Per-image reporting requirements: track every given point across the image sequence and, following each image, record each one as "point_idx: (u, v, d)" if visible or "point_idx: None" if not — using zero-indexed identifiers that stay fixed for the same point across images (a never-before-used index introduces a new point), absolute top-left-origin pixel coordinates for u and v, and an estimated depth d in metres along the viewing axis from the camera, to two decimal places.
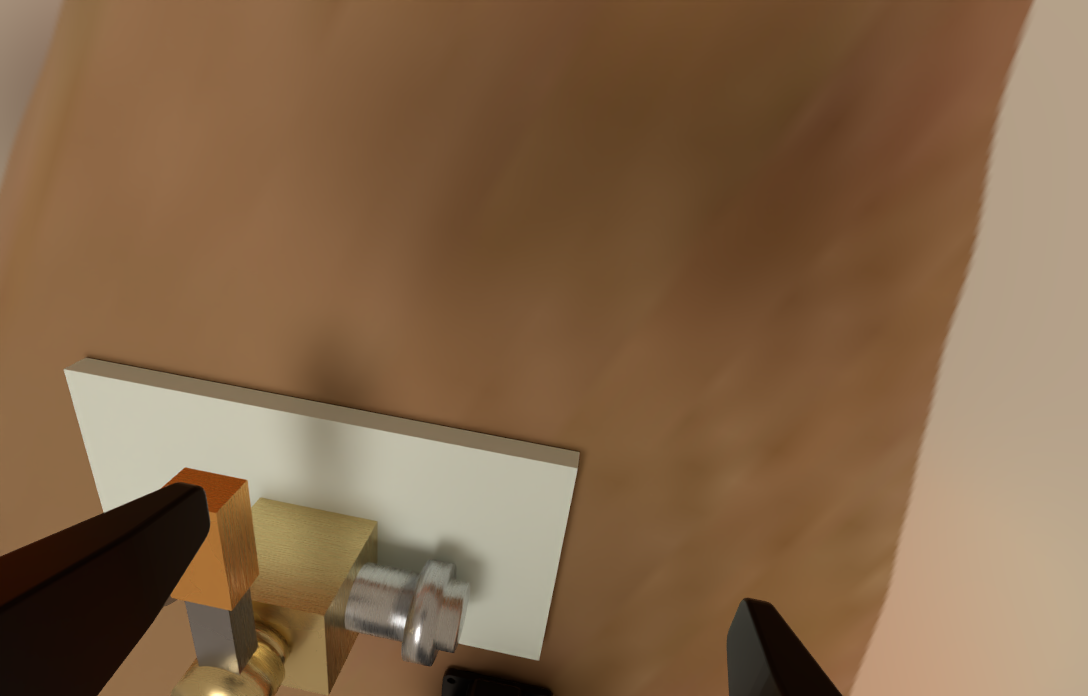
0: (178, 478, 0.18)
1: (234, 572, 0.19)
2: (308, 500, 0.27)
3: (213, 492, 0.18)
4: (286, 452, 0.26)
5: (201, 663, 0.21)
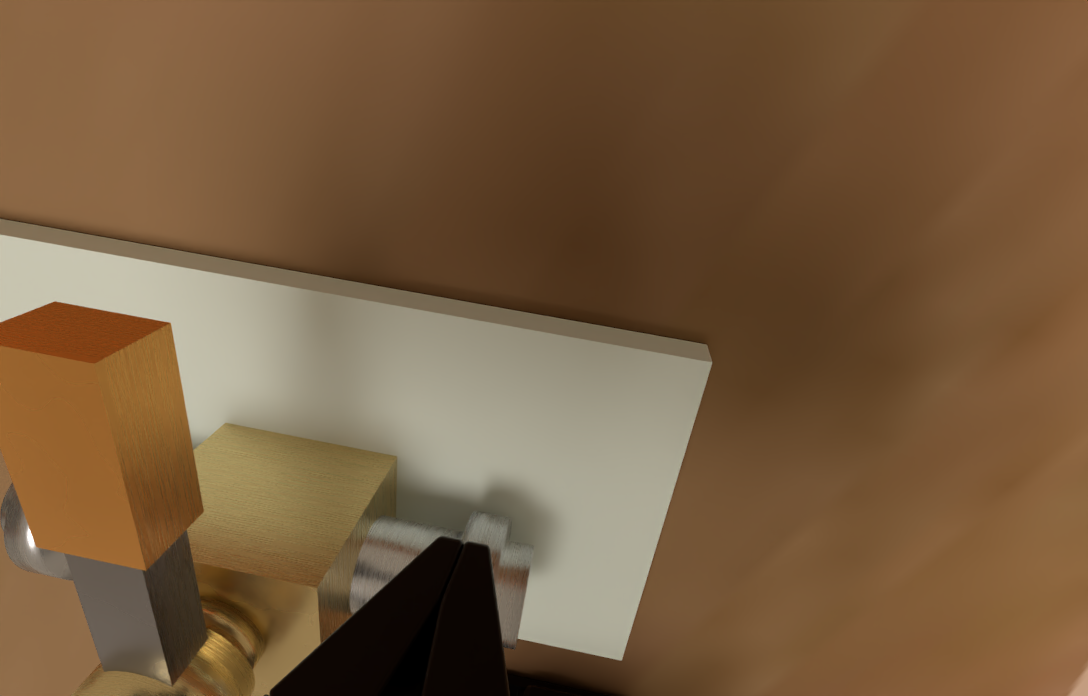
0: (36, 314, 0.10)
1: (148, 498, 0.10)
2: (295, 426, 0.19)
3: (98, 335, 0.09)
4: (262, 348, 0.18)
5: (107, 666, 0.12)
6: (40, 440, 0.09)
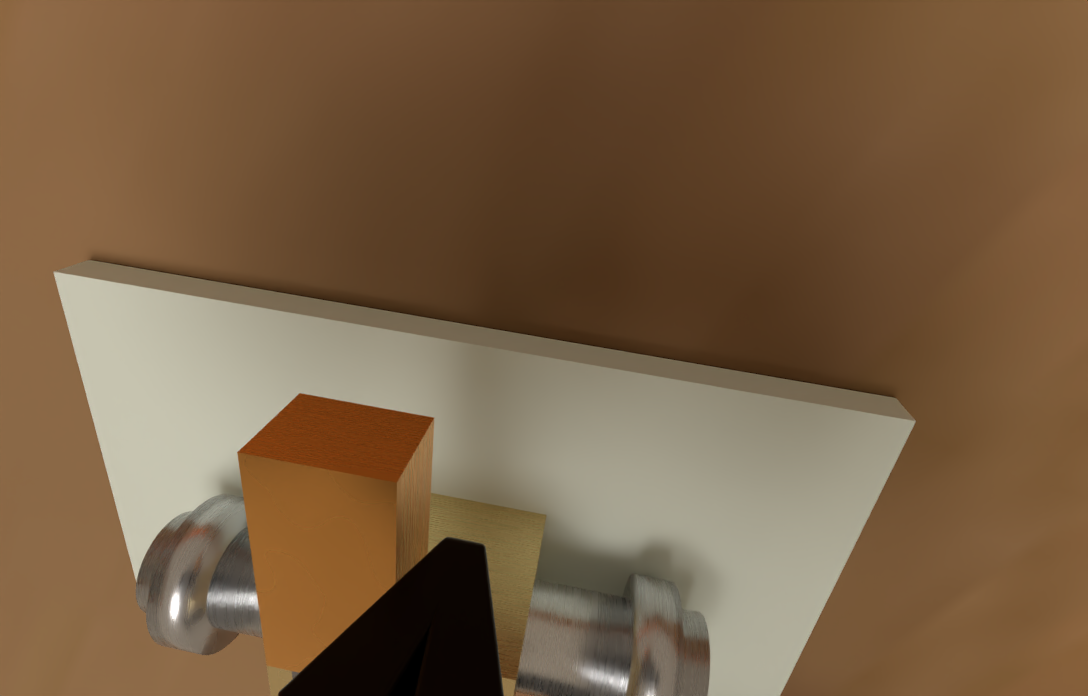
0: (292, 412, 0.08)
1: None
2: (437, 483, 0.18)
3: (374, 440, 0.08)
4: (411, 404, 0.16)
5: None
6: (304, 559, 0.08)
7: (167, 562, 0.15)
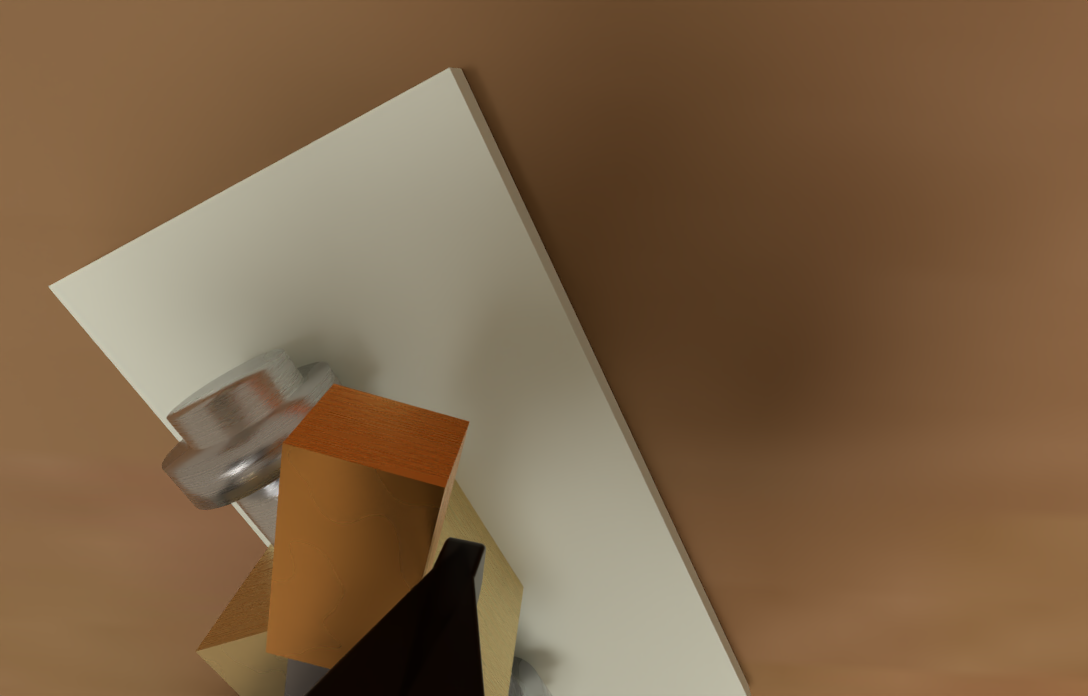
0: (329, 404, 0.08)
1: None
2: (487, 508, 0.18)
3: (416, 440, 0.08)
4: (554, 462, 0.17)
5: None
6: (331, 552, 0.08)
7: (279, 427, 0.13)
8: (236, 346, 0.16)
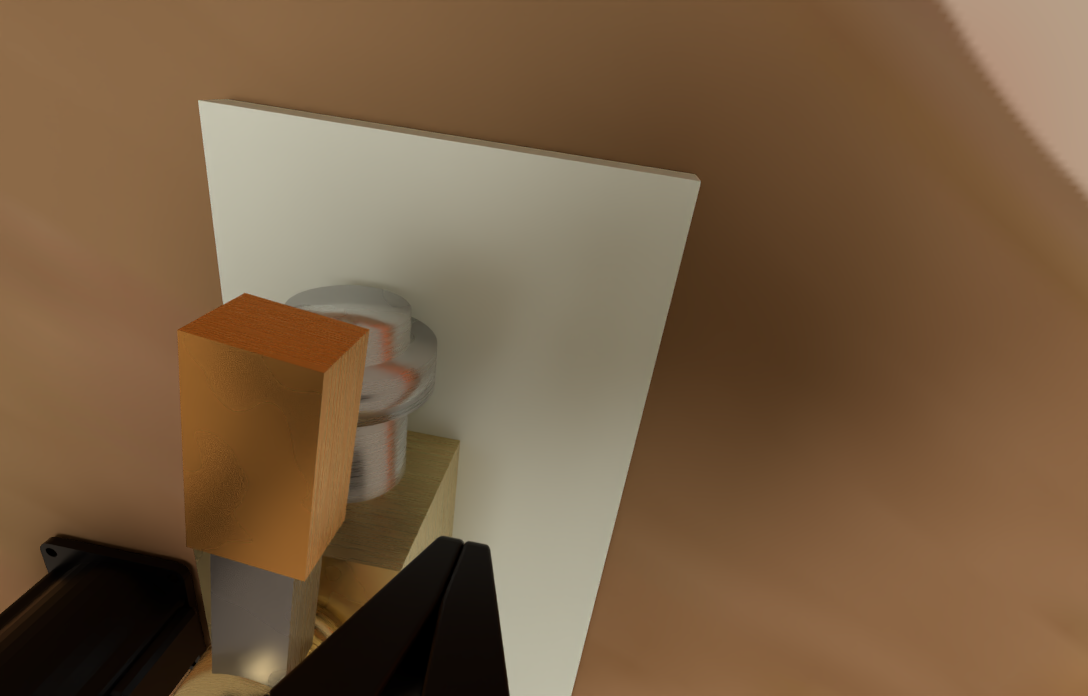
0: (235, 307, 0.09)
1: (320, 508, 0.10)
2: (467, 502, 0.19)
3: (309, 338, 0.09)
4: (549, 498, 0.19)
5: (218, 668, 0.12)
6: (232, 441, 0.09)
7: (394, 385, 0.13)
8: (346, 260, 0.16)
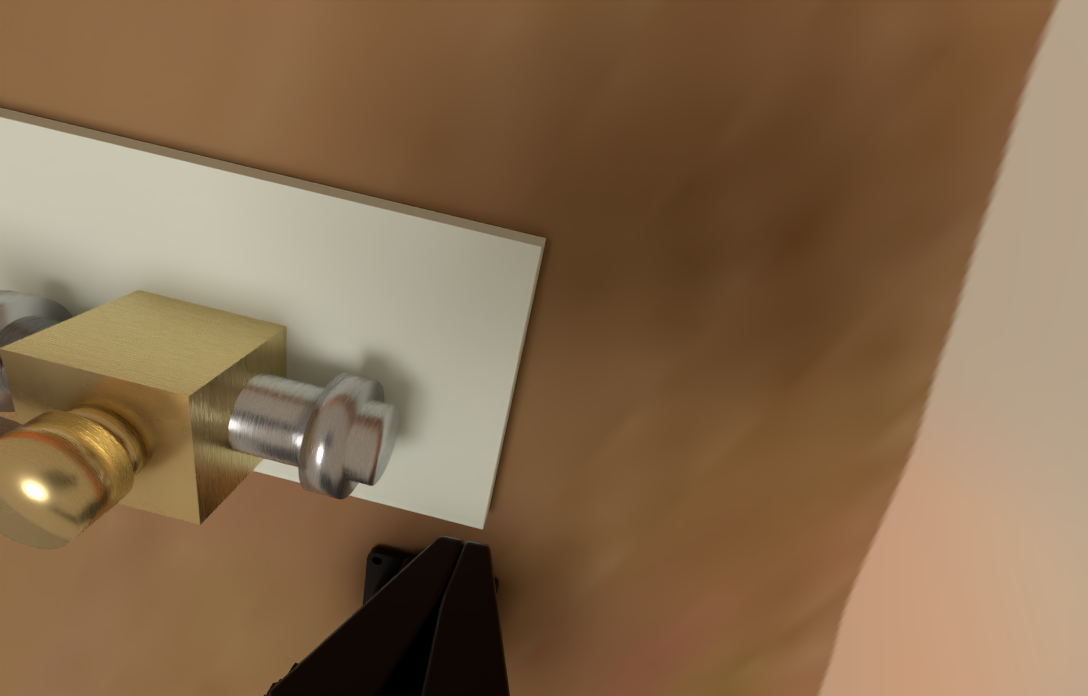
0: None
1: None
2: (198, 295, 0.22)
3: None
4: (170, 220, 0.20)
5: None
6: None
7: None
8: None
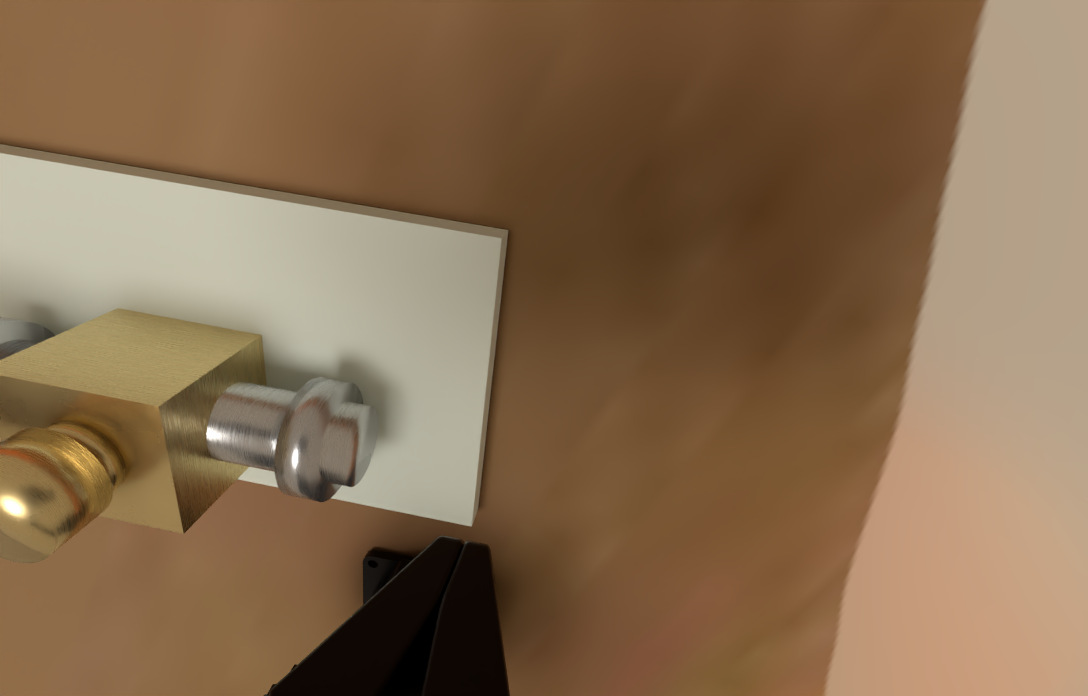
0: None
1: None
2: (175, 309, 0.22)
3: None
4: (141, 237, 0.21)
5: None
6: None
7: None
8: None
